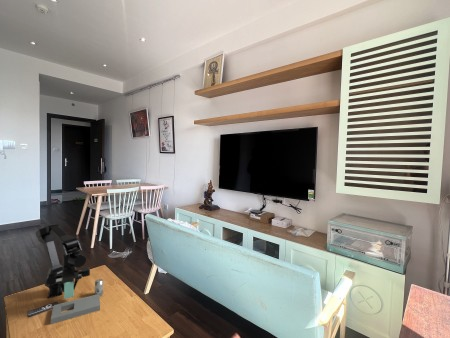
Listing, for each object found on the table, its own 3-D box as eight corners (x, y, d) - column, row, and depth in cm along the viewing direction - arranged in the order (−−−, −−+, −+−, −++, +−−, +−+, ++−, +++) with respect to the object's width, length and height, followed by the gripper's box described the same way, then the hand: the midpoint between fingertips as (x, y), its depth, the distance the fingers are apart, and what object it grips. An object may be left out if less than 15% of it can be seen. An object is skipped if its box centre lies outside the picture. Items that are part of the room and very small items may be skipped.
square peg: (64, 294, 118) (64, 280, 117) (73, 292, 120) (73, 278, 120) (64, 299, 114) (64, 284, 114) (73, 296, 117) (73, 282, 116)
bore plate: (53, 310, 111) (53, 305, 111) (99, 298, 121) (99, 293, 121) (50, 324, 101) (50, 319, 101) (100, 310, 112) (100, 305, 112)
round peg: (94, 293, 125) (94, 280, 125) (102, 291, 127) (102, 278, 127) (94, 297, 122) (95, 283, 121) (103, 295, 124) (103, 281, 123)
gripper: (44, 273, 105) (44, 304, 105) (89, 264, 114) (89, 293, 115) (47, 263, 114) (47, 292, 115) (89, 256, 124) (89, 283, 125)
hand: (69, 290), depth 117 cm, fingers closed on square peg, 4 cm apart
